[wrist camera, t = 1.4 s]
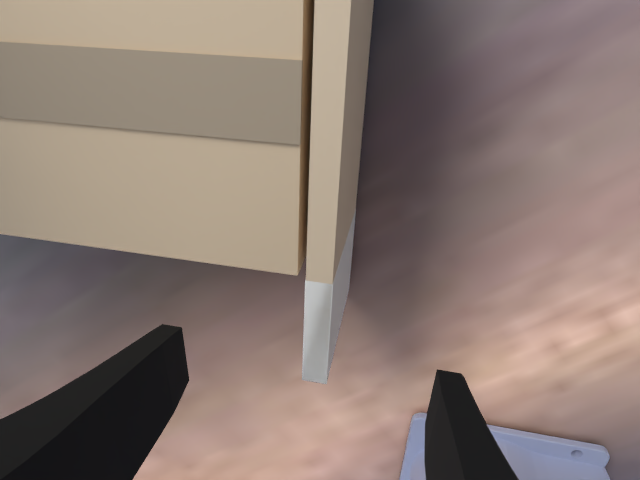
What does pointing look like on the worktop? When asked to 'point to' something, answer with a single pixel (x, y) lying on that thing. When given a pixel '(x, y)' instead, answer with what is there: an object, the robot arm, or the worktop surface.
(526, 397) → the worktop surface
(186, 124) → the carton
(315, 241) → the beige rectangular panel
